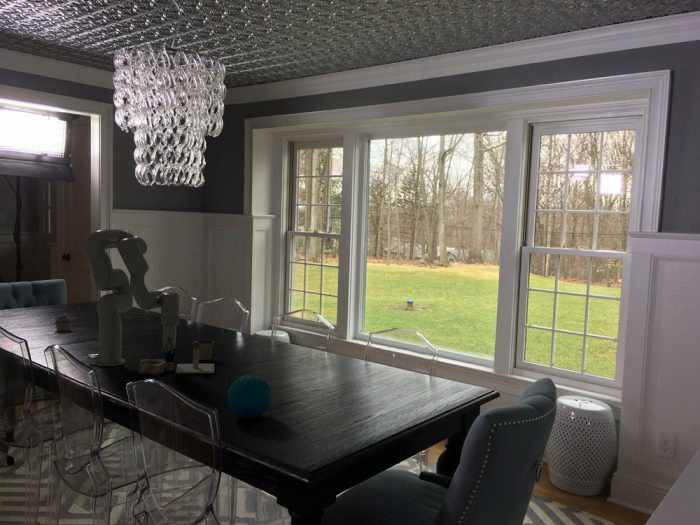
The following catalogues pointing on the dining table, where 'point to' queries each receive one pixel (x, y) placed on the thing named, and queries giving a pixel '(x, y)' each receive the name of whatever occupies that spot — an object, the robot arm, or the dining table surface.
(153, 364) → the birch loop
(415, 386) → the dining table surface
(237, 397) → the decorative orb
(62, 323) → the cupcake
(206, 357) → the flower pot
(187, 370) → the post stand
